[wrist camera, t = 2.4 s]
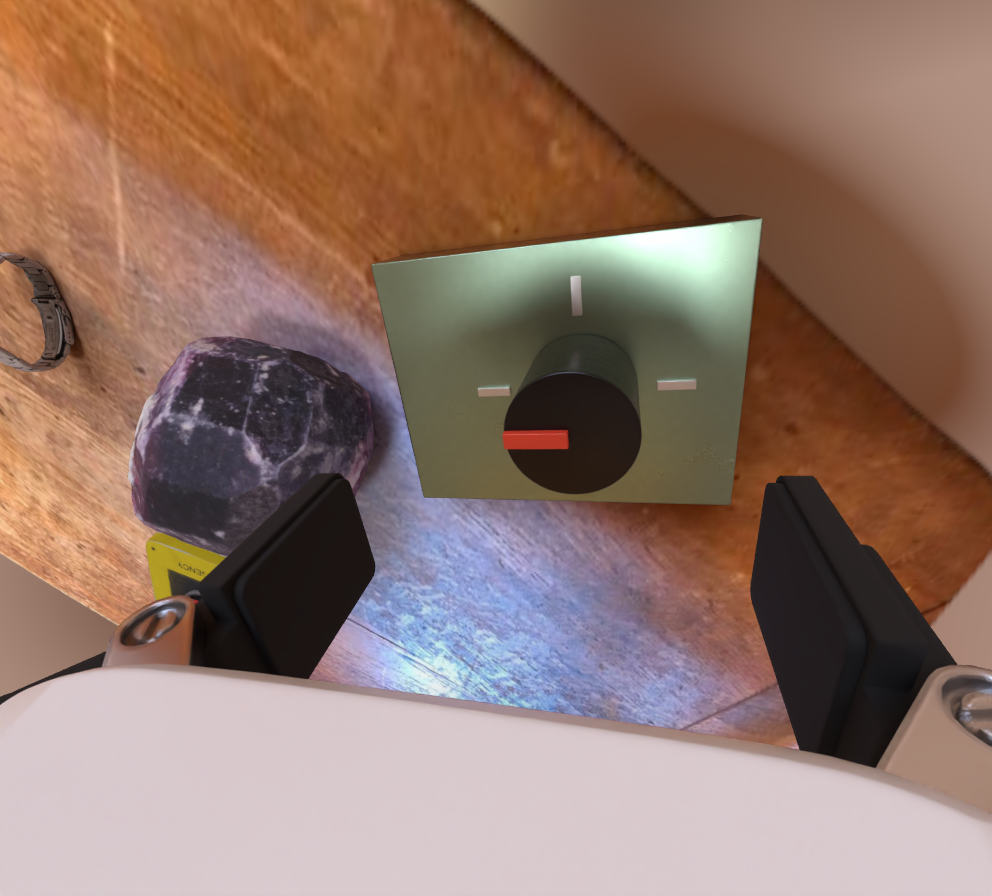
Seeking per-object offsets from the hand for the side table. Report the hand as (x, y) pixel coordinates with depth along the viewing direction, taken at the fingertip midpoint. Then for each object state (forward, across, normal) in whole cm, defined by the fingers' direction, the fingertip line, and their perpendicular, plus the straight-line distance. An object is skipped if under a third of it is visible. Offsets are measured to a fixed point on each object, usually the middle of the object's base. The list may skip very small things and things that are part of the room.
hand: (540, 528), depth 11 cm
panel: (+13, +1, 0) cm, 13 cm away
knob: (+10, 0, 0) cm, 10 cm away
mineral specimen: (+13, +15, +2) cm, 20 cm away
